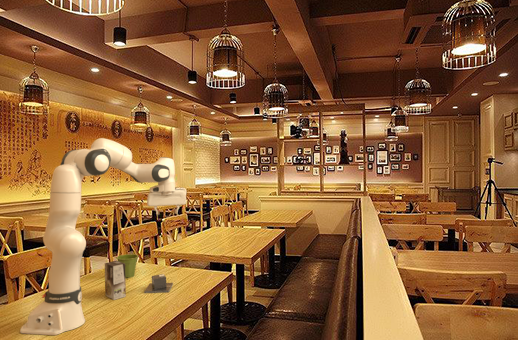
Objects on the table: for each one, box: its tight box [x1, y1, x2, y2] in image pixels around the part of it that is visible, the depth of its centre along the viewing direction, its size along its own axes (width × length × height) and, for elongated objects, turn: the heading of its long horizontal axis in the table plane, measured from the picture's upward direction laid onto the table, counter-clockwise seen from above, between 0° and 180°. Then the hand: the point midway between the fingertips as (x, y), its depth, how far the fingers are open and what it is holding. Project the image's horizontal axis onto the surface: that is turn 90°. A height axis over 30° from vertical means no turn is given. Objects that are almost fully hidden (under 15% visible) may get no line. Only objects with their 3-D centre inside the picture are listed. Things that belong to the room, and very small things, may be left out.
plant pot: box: [116, 253, 139, 279], centre depth 213 cm, size 12×12×11 cm
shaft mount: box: [143, 282, 174, 294], centre depth 192 cm, size 12×12×4 cm
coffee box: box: [104, 260, 127, 301], centre depth 182 cm, size 9×6×16 cm
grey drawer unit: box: [151, 273, 167, 289], centre depth 192 cm, size 6×6×6 cm
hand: (167, 213), depth 199 cm, fingers open, 8 cm apart
